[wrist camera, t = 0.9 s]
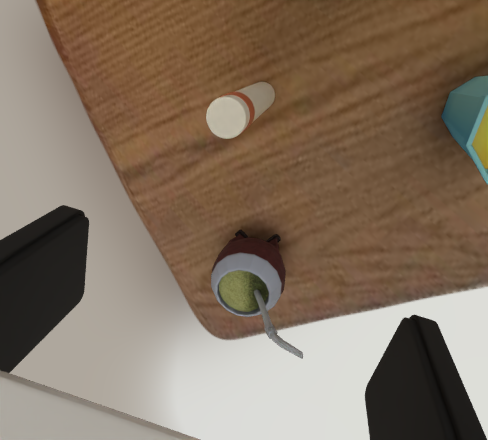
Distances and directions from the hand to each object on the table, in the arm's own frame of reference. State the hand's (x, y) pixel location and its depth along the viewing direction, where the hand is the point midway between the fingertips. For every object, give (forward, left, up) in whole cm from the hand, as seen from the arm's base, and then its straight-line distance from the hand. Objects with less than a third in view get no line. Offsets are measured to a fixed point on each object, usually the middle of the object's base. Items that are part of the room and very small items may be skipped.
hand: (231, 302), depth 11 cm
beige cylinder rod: (+3, -3, -27) cm, 28 cm away
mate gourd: (+2, +13, -27) cm, 30 cm away
